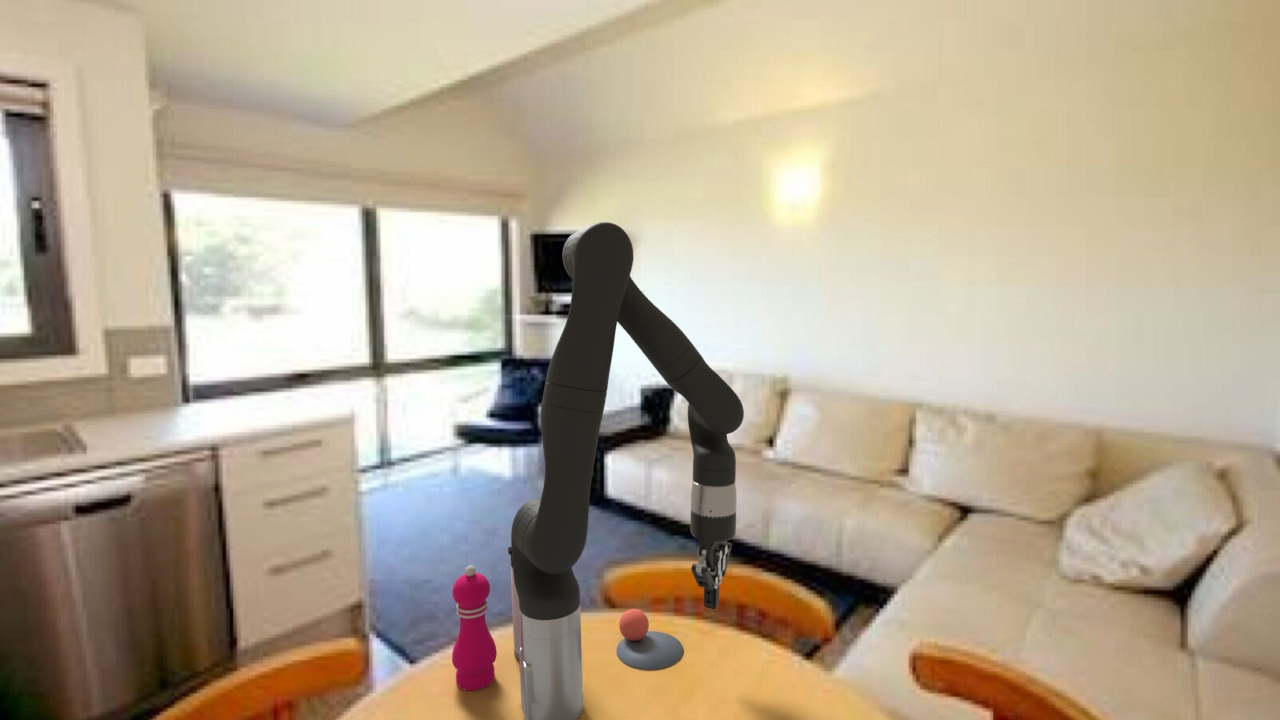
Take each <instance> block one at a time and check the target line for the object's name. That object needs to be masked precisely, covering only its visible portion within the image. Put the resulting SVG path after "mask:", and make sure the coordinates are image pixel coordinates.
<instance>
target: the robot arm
mask: <svg viewBox="0 0 1280 720" xmlns="http://www.w3.org/2000/svg"><path fill="white" fill-rule="evenodd" d="M631 241H632V240H631V238H630V236H629V235H628V233H627V232H626V231H625V230H624V229H623V228H622V227H621V226H619V225H618V224H615V223H613V222H608V221H607V222H606V221H605V222H604V221H601V222H596V223H592V224H590V225H588V226H585V227H583V228H581V229H579V230H577V231H575V232H574V233H572V234H571V235H570V236H569V237H568V238H567V240H566V241H565V242H564V245H563V248H562V255H561V256H562V257H561V258H562V263H563V267H564V269H565V271H566V273H567V274H568V276H569V277H570V278H571V279H572V290H571V299H570V305H569V311H568V315H567V319H566V322H565V326H564V327H563V329H562V331H561V334H560V337H559V339H558V341H557V343H556V346H555V348H554V351H553V354H552V356H551V359H550V362H549V365H548V369H547V373H546V376H545V384H544V389H543V394H542V401H541V405H540V406H541V407H540V428H541V429H540V431H541V441H542V449H543V450H542V451H543V458H544V479H543V480H544V481H543V485H542V486H543V488H542V492H541V495H540V497H539V496H537V497H535V498H532V499H530V500H527V501H526V502H525V503H523V505H521V506H520V508H519V509H518V510H517V512H516V513H515V516H514V518H513V522H512V525H511V532H510V533H511V534H510V535H511V536H510V538H511V539H510V540H511V541H510V542H511V543H510V545H511V546H510V547H512V560H513V574H514V583H515V587H516V591H517V594H518V598H519V611H520V636H521V648H519V659H518V660H519V677H520V679H519V683H520V684H519V685H520V703H521V704H520V705H521V708H522V714H523V717H524V720H578V719H579V718H580V716H581V715H582V713H583V710H584V689H583V688H584V687H583V685H584V684H583V654H582V627H581V626H582V624H581V623H582V622H581V618H582V617H581V613H582V612H581V588H580V585H579V582H578V580H577V578H576V575H575V573H574V571H573V567H574V565H576V563H577V562H578V561H579V559H580V557H582V555H583V551H584V550H585V546H586V542H587V538H588V528H589V515H590V500H591V498H590V497H591V487H592V480H593V479H592V477H593V471H594V465H595V461H596V455H597V448H598V444H599V438H600V437H599V436H600V429H601V424H602V420H603V417H604V411H605V406H606V399H607V395H608V394H607V393H608V392H607V391H608V387H609V378H610V373H611V367H612V360H613V355H614V347H615V339H616V331H617V325H618V324H619V325H620V327H621V328H622V329H623V330H624V331H625V332H626V333H627V334H628V335H629V337H630V338H631V339H632V341H633V342H634V343H635V344H636V346H637V347H638V348H639V349H640V351H641V352H642V354H644V356H645V357H646V358H647V360H648V361H649V362H650V363H651V365H652V366H653V367H654V368H655V370H656V371H657V372H658V374H659V375H660V376H661V377H662V379H663V380H664V381H665V382H666V384H667V385H668V386H669V387H670V388H671V389H672V390H673V391H674V392H676V393H678V394H679V395H681V396H682V397H683V399H685V401H686V402H687V403H688V405H687V423H688V424H687V425H688V431H689V437H690V442H691V447H692V453H693V456H692V457H693V460H692V484H691V485H692V486H691V492H690V528H689V529H690V533H691V535H692V536H693V537H694V538H696V539H697V540H698V542H699V544H698V547H697V557H698V561H697V564H696V563H692V566H691V573H692V576H693V577H694V579H695V582H696V584H697V586H698V587H699V588H703V606H704V607H705V608H706V609H711V610H716V609H717V608H718V606H719V605H720V585H721V584H722V582H723V580H722V579H723V578H725V576H726V573H727V568H728V564H729V559H730V556H731V551H732V547H733V544H732V542H727V541H730V540H732V539H734V538H735V536H736V532H737V529H736V528H737V498H738V497H737V487H736V477H737V476H736V475H737V474H736V471H737V470H736V468H737V464H736V463H737V462H736V460H737V459H736V458H737V457H736V453H735V451H734V449H733V447H732V446H731V445H730V443H729V441H728V435H729V434H732V433H734V432H735V431H737V430H738V429H739V428H740V427H741V425H742V424H743V421H744V417H745V412H744V411H745V410H744V405H743V403H742V401H741V399H740V398H739V396H738V394H737V393H736V392H735V391H734V389H733V388H731V386H730V385H729V384H728V383H727V382H726V381H725V380H724V379H723V378H722V377H721V376H720V375H719V374H718V373H717V372H716V371H715V370H714V369H712V368H711V367H710V366H709V364H708V363H707V361H705V359H704V357H703V356H702V355H701V354H700V351H698V349H697V348H696V346H694V344H693V342H691V340H690V339H689V338H688V336H687V335H686V334H685V333H684V332H683V330H682V329H681V328H680V327H679V326H678V325H677V324H676V323H675V322H674V321H673V320H672V319H671V318H670V317H669V316H667V315H666V314H665V313H664V312H663V311H662V310H661V309H660V308H658V307H657V306H656V305H655V304H654V303H653V302H652V301H651V300H650V299H649V298H648V297H647V296H646V294H644V292H643V291H641V289H640V288H639V287H638V286H637V284H636V283H635V281H634V280H633V278H632V277H631V272H632V268H633V265H634V247H633V243H632V242H631Z"/></svg>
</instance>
